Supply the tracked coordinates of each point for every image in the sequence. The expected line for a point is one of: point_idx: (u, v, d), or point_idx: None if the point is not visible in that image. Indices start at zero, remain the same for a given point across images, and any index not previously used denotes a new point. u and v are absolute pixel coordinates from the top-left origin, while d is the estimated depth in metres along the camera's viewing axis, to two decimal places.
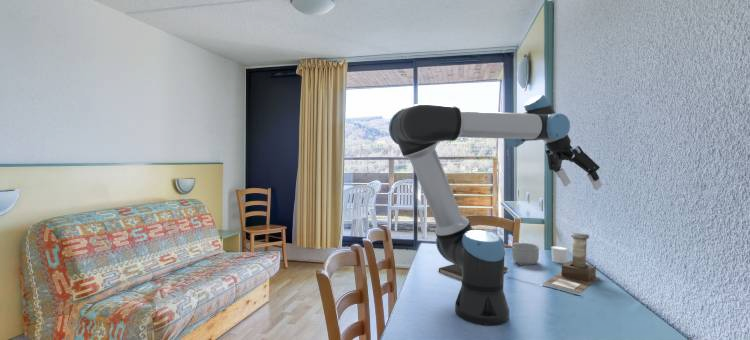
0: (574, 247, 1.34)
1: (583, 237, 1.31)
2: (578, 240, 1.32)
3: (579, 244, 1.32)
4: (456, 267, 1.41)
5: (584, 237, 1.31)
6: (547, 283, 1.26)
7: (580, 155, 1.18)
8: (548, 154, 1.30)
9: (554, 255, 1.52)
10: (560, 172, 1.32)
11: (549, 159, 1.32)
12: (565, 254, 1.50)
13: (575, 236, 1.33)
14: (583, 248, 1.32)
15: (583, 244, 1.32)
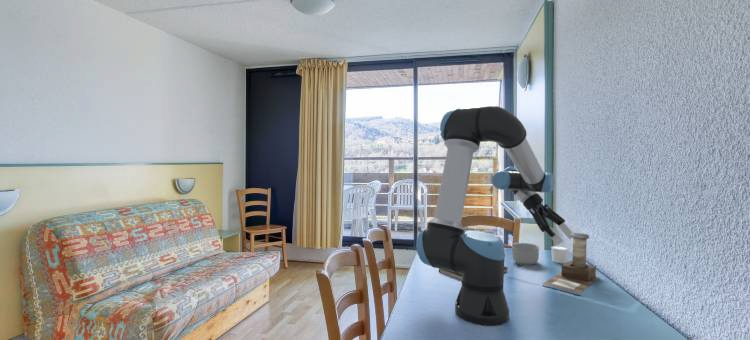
0: (574, 247, 1.34)
1: (583, 237, 1.31)
2: (578, 240, 1.32)
3: (579, 244, 1.32)
4: None
5: (584, 237, 1.31)
6: (547, 283, 1.26)
7: None
8: (536, 210, 1.40)
9: (554, 255, 1.52)
10: None
11: (539, 215, 1.39)
12: (565, 254, 1.50)
13: (575, 236, 1.33)
14: (583, 248, 1.32)
15: (583, 244, 1.32)
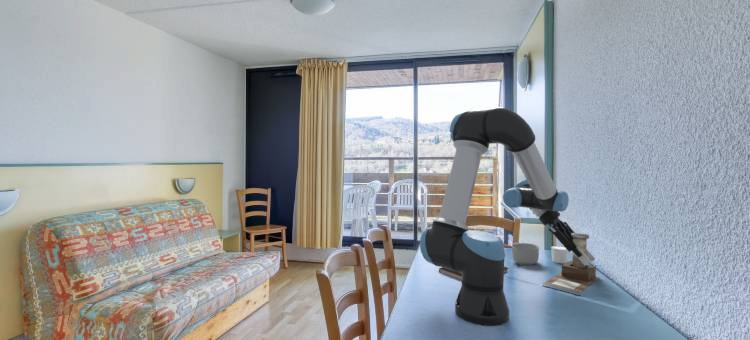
0: None
1: (583, 237, 1.31)
2: (578, 240, 1.32)
3: (579, 244, 1.32)
4: None
5: (584, 237, 1.31)
6: (547, 283, 1.26)
7: None
8: (557, 228, 1.35)
9: (554, 255, 1.52)
10: None
11: (562, 233, 1.34)
12: (565, 254, 1.50)
13: (575, 236, 1.33)
14: (583, 248, 1.32)
15: (583, 244, 1.32)
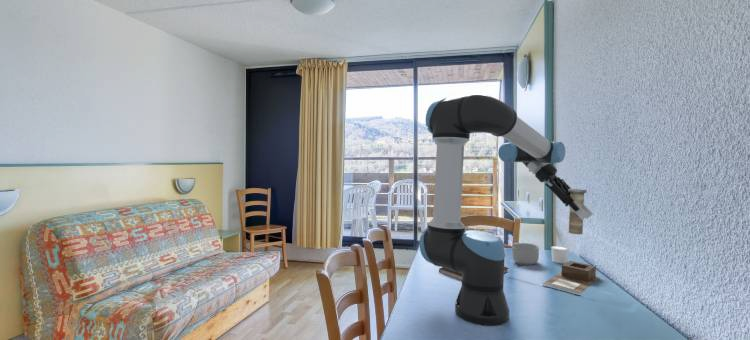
0: None
1: (580, 191, 1.27)
2: (575, 195, 1.28)
3: (576, 199, 1.28)
4: None
5: (581, 191, 1.27)
6: (547, 283, 1.26)
7: None
8: (554, 182, 1.31)
9: (554, 255, 1.52)
10: None
11: (559, 187, 1.30)
12: (565, 254, 1.50)
13: (572, 191, 1.29)
14: (580, 203, 1.28)
15: (580, 199, 1.28)
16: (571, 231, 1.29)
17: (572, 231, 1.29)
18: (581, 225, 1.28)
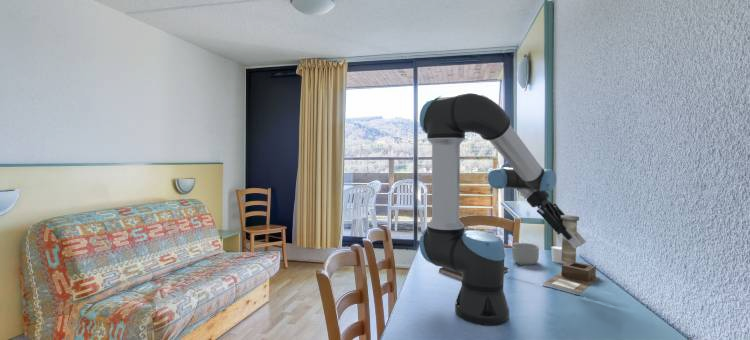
0: None
1: (573, 219, 1.23)
2: (568, 222, 1.24)
3: (569, 227, 1.24)
4: None
5: (574, 219, 1.23)
6: (547, 283, 1.26)
7: None
8: (545, 209, 1.26)
9: (554, 255, 1.52)
10: None
11: (550, 215, 1.25)
12: None
13: (564, 218, 1.24)
14: (573, 231, 1.24)
15: (573, 226, 1.23)
16: (564, 259, 1.25)
17: (565, 260, 1.25)
18: (574, 253, 1.24)
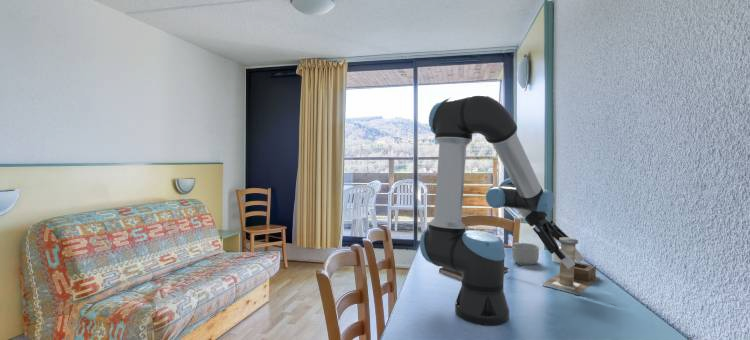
0: None
1: (571, 242, 1.22)
2: (566, 245, 1.23)
3: (567, 250, 1.23)
4: None
5: (573, 242, 1.22)
6: (547, 283, 1.26)
7: None
8: (541, 228, 1.26)
9: (554, 255, 1.52)
10: None
11: (546, 234, 1.24)
12: None
13: (563, 241, 1.23)
14: (571, 254, 1.23)
15: (571, 250, 1.23)
16: (562, 282, 1.25)
17: (563, 282, 1.25)
18: (572, 277, 1.24)
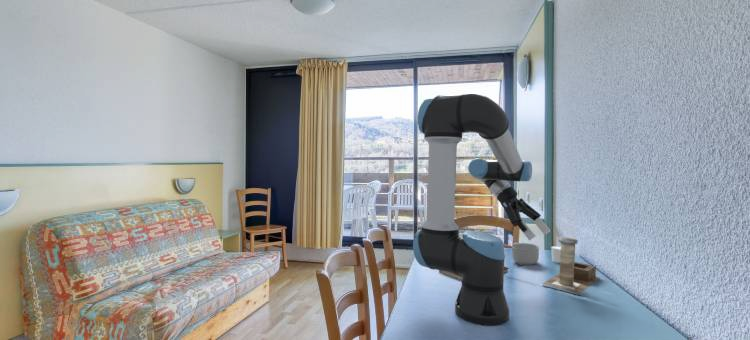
0: (562, 253, 1.25)
1: (571, 242, 1.22)
2: (566, 245, 1.23)
3: (567, 250, 1.23)
4: None
5: (572, 242, 1.22)
6: (547, 283, 1.26)
7: None
8: (509, 204, 1.34)
9: (554, 255, 1.52)
10: None
11: (512, 209, 1.33)
12: None
13: (563, 241, 1.24)
14: (571, 254, 1.23)
15: (571, 250, 1.23)
16: (562, 282, 1.25)
17: (563, 282, 1.25)
18: (572, 277, 1.24)
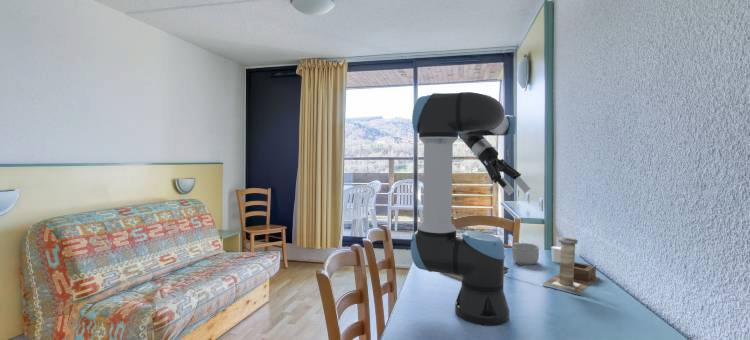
0: (562, 253, 1.25)
1: (571, 242, 1.22)
2: (566, 245, 1.23)
3: (567, 250, 1.23)
4: None
5: (572, 242, 1.22)
6: (547, 283, 1.26)
7: None
8: (489, 162, 1.37)
9: (554, 255, 1.52)
10: None
11: (492, 166, 1.36)
12: None
13: (563, 241, 1.24)
14: (571, 254, 1.23)
15: (571, 250, 1.23)
16: (562, 282, 1.25)
17: (563, 282, 1.25)
18: (572, 277, 1.24)
